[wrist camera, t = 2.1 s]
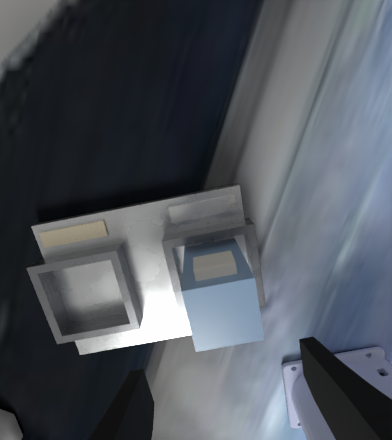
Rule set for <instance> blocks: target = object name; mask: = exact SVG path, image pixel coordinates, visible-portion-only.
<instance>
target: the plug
mask: <svg viewBox="0 0 392 440" xmlns="http://www.w3.org/2000/svg"><path fill="white" fill-rule="evenodd" d="M182 295H183V300H184V304H185V308H186V312H187V317H188V321H189V325H190V329H191V333H192V338H193V342H194V346H195V350H196V352H198V351H204V350H209V349H215V348H221V347H226V346H232V345H237V344H243V343H249V342H254V341H260V340H264V335H263V328H262V321H261V315H260V308H259V301H258V295H257V288H256V281H255V277H254V275H253V273H252V271H251V269H250V267H249V265H248V263H247V261H246V259H245V257H244V255H243V253H242V251H241V250H240V248H239V246H238V244H237V242H236V240H235V238H232V239H227V240H222V241H216V242H211V243H206V244H201V245H195V246H190V247H185V248H184V261H183V277H182Z"/></svg>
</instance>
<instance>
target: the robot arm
mask: <svg viewBox="0 0 392 440" xmlns="http://www.w3.org/2000/svg"><path fill="white" fill-rule="evenodd" d="M299 341H300V349H301V358H302V360H298V361H292V362H286V363H284V364H283V365H282V372H283V380H284V387H285V395H286V402H287V410H288V418H289V423H290V426H291V427H292V428H294V429H296V428H302V429H303V431H304V434H305V436H306V439H307V440H392V365H391V364H390V363H389V362H388V361H387V360H386V359H385V351H384V350H383V349H382V348H381V347H372V348H366V349H360V350H355V351H349V352H343V353H337V354H332V353H331V352H330V351H329V350H328V349H327V348H325V347H324V346H323V345H322V344H321V343H320V342H319V341H318V340H316V339H315V338H314V337H309V338H304V339H299ZM292 367H293V368H292ZM153 418H154V401H153V398H152V394H151V391H150V388H149V385H148V382H147V379H146V376H145V373H144V370H143V369H140V370H135V371H130V373H129V374H128V376H127V377H126V379H125V381H124V382H123V384H122V386H121V387H120V389H119V391H118V393H117V394H116V396H115V398H114V399H113V401H112V403H111V404H110V406H109V407H108V409H107V410H106V412H105V414H104V415H103V417H102V418H101V420H100V422H99V423H98V425H97V426H96V428H95V429H94V431H93V432H92V433H91V435H90V436H89V438H88V439H87V440H151V438H152V431H153Z"/></svg>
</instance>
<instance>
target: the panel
mask: <svg viewBox="0 0 392 440" xmlns="http://www.w3.org/2000/svg"><path fill="white" fill-rule="evenodd" d="M31 227H32V230H33V232H34V235H35V237H36V240H37V243H38V245H39V248H40V251H41V253H42V256H43V258H42V259H38V260H37V261H36V262H34V263H33V264H31V265H30V266H29V267H27V271H28V273H29V276H30V278H31V281H32V283H33V285H34V288H35V290H36V293H37V295H38V298H39V300H40V303H41V305H42V308H43V310H44V313H45V315H46V318H47V320H48V323H49V325H50V327H51V330H52V332H53V335H54V337H55V340H56V342H57V344H60V343H66V342H71V341H75V342H76V345H77V347H78V350H79V353H80V355H82V354H88V353H93V352H99V351H104V350H110V349H115V348H121V347H126V346H132V345H137V344H143V343H148V342H154V341H159V340H165V339H170V338H176V337H181V336H187V335H192V333H191V329H190V325H189V321H188V317H187V312H186V308H185V304H184V300H183V295H182V277H183V261H184V248H185V247H190V246H195V245H201V244H206V243H211V242H216V241H222V240H227V239H232V238H235V240H236V242H237V244H238V246H239V248H240V250H241V251H242V253H243V255H244V257H245V259H246V261H247V263H248V265H249V267H250V269H251V271H252V273H253V275H254V277H255V281H256V288H257V295H258V301H259V307H262V306H266V303H265V296H264V289H263V282H262V275H261V268H260V261H259V254H258V246H257V239H256V232H255V225H254V223H253V222H252V221H251V220H250V219H249V218H248V219H245V218H244V211H243V204H242V198H241V191H240V185H239V184H232V185H227V186H222V187H217V188H212V189H207V190H202V191H197V192H192V193H187V194H182V195H177V196H172V197H167V198H162V199H157V200H152V201H147V202H142V203H136V204H131V205H126V206H121V207H116V208H111V209H106V210H101V211H96V212H91V213H86V214H81V215H76V216H71V217H66V218H61V219H56V220H51V221H46V222H41V223H37V224H35V225H33V226H31Z"/></svg>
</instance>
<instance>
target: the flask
mask: <svg viewBox="0 0 392 440" xmlns="http://www.w3.org/2000/svg"><path fill="white" fill-rule="evenodd" d="M22 437H23V434H22V432H21V429H20V427H19V425H18V422H17V420H16V418H15V415H14V414H12V413H10V412H7V411H4V410H1V409H0V440H21V439H22Z"/></svg>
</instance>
